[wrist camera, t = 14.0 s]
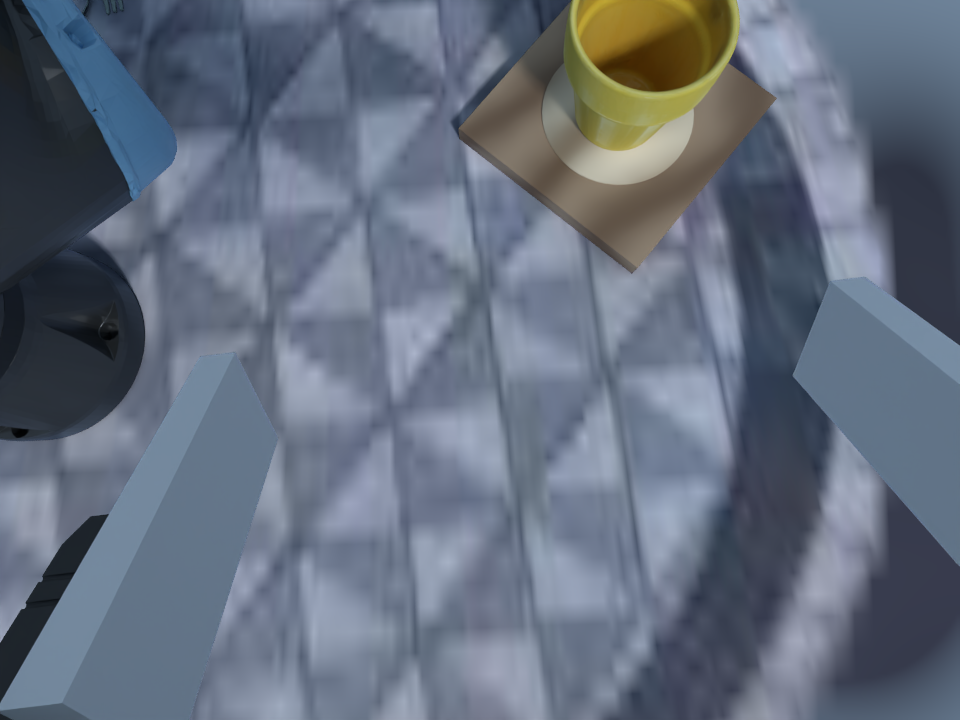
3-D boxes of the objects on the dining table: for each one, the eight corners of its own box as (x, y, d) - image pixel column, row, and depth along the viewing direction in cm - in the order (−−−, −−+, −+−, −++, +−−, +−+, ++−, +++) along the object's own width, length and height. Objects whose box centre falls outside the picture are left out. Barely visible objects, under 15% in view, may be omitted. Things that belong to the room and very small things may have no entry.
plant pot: (531, 150, 40) (544, 63, 30) (575, 36, 41) (602, -83, 31) (656, 193, 39) (711, 119, 29) (698, 77, 40) (764, -31, 30)
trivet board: (459, 138, 42) (458, 127, 40) (594, -15, 43) (598, -32, 41) (631, 273, 40) (638, 267, 38) (766, 109, 42) (777, 96, 40)
